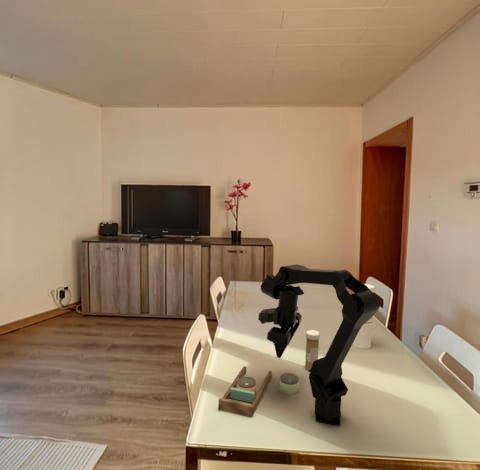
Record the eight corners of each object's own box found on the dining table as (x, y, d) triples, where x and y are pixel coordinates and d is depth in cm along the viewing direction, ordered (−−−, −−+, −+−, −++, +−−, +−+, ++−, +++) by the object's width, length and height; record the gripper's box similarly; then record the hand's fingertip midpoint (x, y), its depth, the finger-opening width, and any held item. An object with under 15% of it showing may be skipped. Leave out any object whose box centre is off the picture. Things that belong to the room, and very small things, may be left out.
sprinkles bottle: (303, 365, 127) (304, 329, 125) (315, 365, 127) (317, 329, 126) (306, 372, 122) (308, 334, 121) (319, 371, 123) (321, 334, 121)
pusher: (254, 400, 105) (255, 391, 104) (253, 403, 104) (253, 394, 103) (231, 395, 107) (231, 387, 107) (230, 398, 106) (230, 389, 106)
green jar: (299, 386, 113) (300, 374, 113) (296, 396, 108) (297, 384, 107) (281, 383, 115) (281, 371, 115) (277, 392, 110) (277, 380, 109)
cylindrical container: (357, 340, 150) (360, 282, 147) (373, 345, 145) (377, 286, 142) (349, 344, 145) (352, 285, 142) (365, 350, 140) (369, 289, 137)
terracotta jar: (258, 390, 111) (258, 378, 110) (252, 400, 105) (253, 388, 105) (240, 386, 113) (240, 374, 112) (233, 396, 107) (234, 384, 107)
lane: (271, 376, 119) (271, 367, 119) (252, 417, 97) (252, 406, 97) (243, 371, 122) (243, 362, 122) (218, 409, 101) (218, 399, 100)
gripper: (271, 290, 120) (267, 332, 123) (252, 309, 103) (248, 357, 106) (304, 297, 116) (299, 340, 119) (289, 318, 99) (284, 368, 102)
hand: (282, 350), depth 112 cm, fingers open, 9 cm apart
